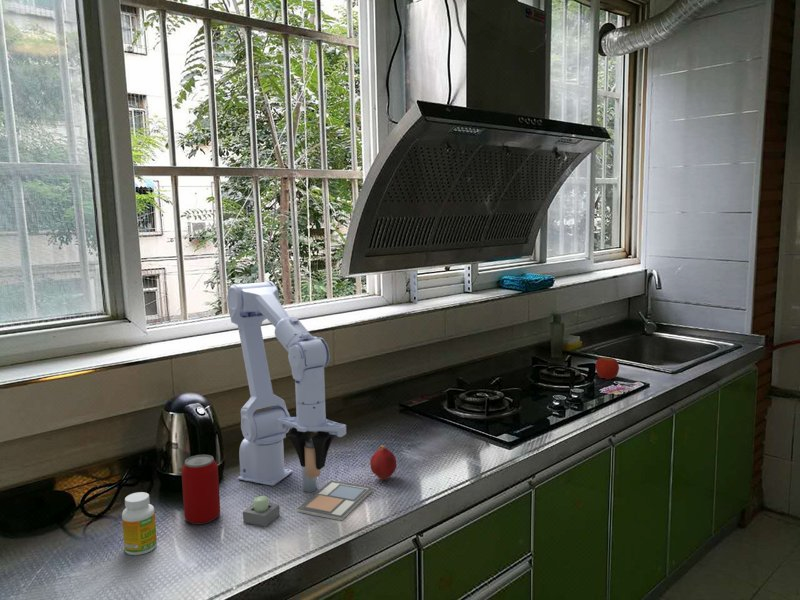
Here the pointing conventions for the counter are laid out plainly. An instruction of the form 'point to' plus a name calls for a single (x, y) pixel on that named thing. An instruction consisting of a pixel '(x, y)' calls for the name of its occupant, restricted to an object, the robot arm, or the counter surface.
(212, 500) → the beverage can
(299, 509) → the picture card
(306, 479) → the cylinder
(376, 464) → the onion
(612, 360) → the apple
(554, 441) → the counter surface
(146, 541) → the supplement bottle
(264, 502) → the button
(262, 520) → the button housing
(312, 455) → the terracotta marker
